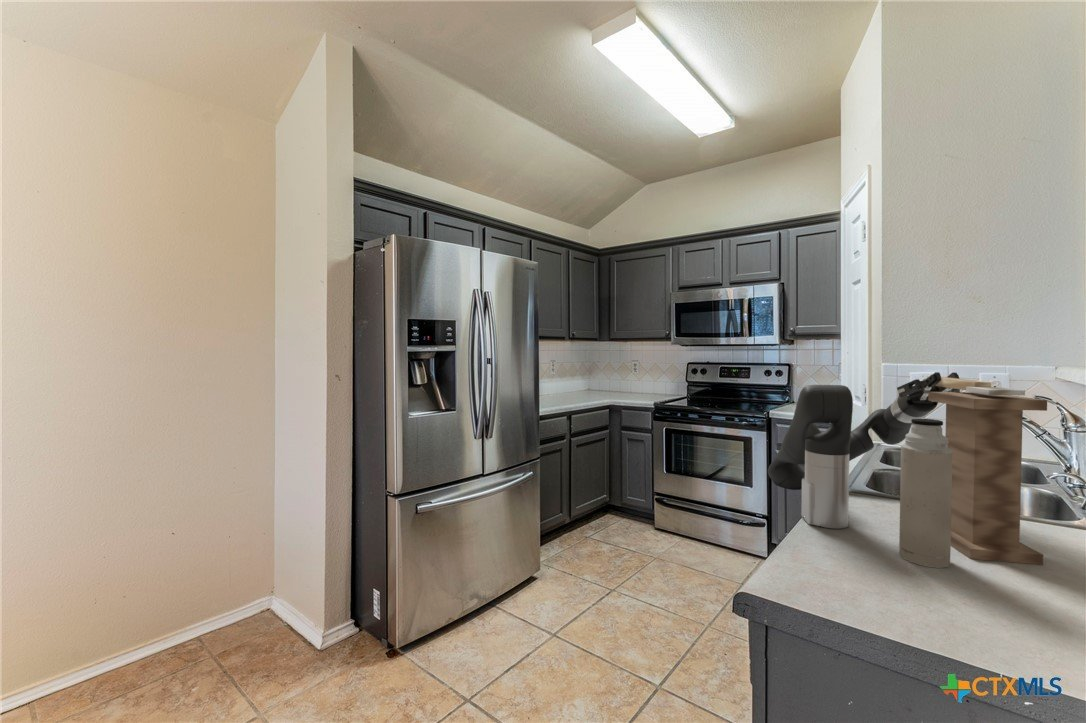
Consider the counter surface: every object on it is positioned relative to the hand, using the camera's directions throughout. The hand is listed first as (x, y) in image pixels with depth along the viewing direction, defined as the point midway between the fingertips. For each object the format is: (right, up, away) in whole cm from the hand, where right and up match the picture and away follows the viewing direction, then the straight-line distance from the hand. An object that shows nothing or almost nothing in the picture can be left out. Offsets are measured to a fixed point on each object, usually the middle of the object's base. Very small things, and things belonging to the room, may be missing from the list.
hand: (947, 376), depth 113 cm
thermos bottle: (-20, -36, -18) cm, 45 cm away
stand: (-3, -36, -11) cm, 38 cm away
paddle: (-1, -3, -7) cm, 7 cm away
